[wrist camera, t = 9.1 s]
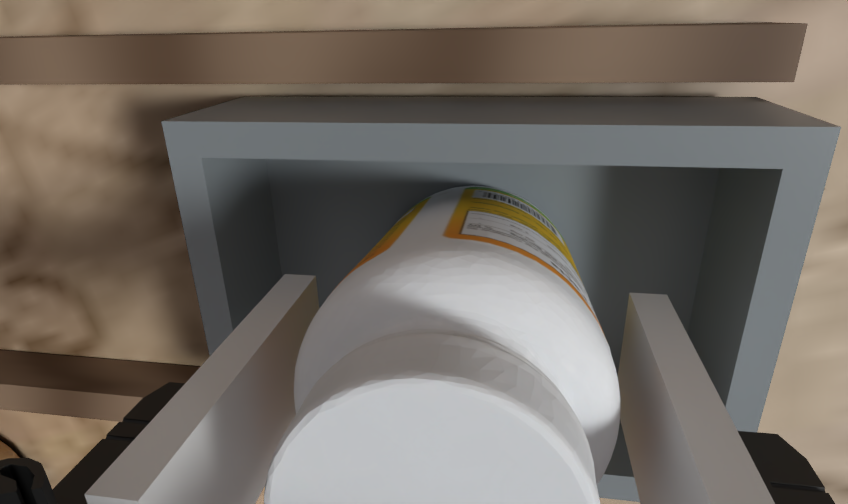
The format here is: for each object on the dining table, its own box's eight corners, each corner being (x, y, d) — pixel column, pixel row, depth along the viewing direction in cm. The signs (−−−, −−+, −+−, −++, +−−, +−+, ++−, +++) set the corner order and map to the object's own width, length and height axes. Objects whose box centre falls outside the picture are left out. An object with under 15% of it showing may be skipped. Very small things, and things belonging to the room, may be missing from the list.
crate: (284, 374, 20) (230, 456, 16) (244, 96, 16) (161, 121, 12) (690, 408, 17) (734, 512, 14) (756, 96, 14) (840, 127, 10)
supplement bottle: (407, 377, 17) (280, 721, 7) (360, 206, 16) (137, 360, 6) (588, 348, 16) (706, 709, 6) (552, 162, 14) (631, 269, 5)
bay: (-95, 365, 24) (-146, 394, 22) (-247, 41, 19) (-329, 44, 17) (682, 436, 19) (699, 481, 17) (769, 22, 14) (807, 23, 12)
